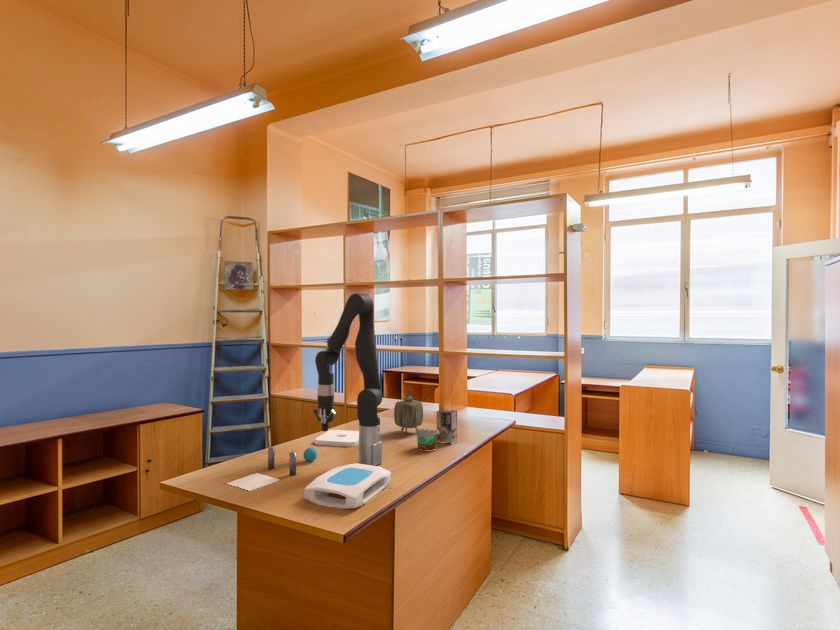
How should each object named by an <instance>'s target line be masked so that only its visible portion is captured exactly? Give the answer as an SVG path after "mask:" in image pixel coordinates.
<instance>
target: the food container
mask: <svg viewBox="0 0 840 630" xmlns="http://www.w3.org/2000/svg"><path fill="white" fill-rule="evenodd" d="M415 434H416V438H417V448H419V449H422V450H433V449H436V448H437V447H438V442H437V441H438V434H440V433H439V429H438V430H437V429H436V430H433V429H428V428H426V429H425V428H422V429H421V428H418V427H417V428H415ZM419 449H418V450H419ZM437 449H438V448H437Z"/></svg>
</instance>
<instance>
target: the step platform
mask: <svg viewBox="0 0 840 630" xmlns="http://www.w3.org/2000/svg"><path fill="white" fill-rule="evenodd" d="M391 482H392V472H391V470H388V469H386V468H383V467H381V466H379V465H377V466H372V465H365V464H359V462H357V463H356V462H355V463H350V464H345V465H344V464H343V465H340V466H336V467H333V468H331V469H329V470H328V471H325V472H324V473H322V474H321V475H319V476H317V477H316V478H314V479H313V480H312V481H311V482H310V483H309V484H308V485H306V487H305V488H304V491H303V492H304V493H303V494H304V496H303V497H304V499H305V500H307V501H308V502H311V503H312V504H314V505H317V506H322V505H323V507H329V508H333V507H335V508H334V509H338V508H341V509H340V510H348V509H356V508H359V507H361V506H364V505H363V504H364V503H365V502H366V501H368V500H369V499H370V498H372V497H373V496H374V495H376V494H377V493H378V492H379V491H381V490H382V489H383V488H385V487H388V485H389V484H390V483H391ZM372 486H373V487H372ZM370 487H371V488H370ZM385 489H386V488H385ZM381 492H382V491H381ZM330 493H331V494H334V495H335V494H337V495H340V496H343V497H345V498H337V497H333V496H329V494H330ZM376 496H377V495H376Z"/></svg>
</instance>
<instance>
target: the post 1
mask: <svg viewBox="0 0 840 630" xmlns="http://www.w3.org/2000/svg"><path fill="white" fill-rule="evenodd" d="M275 448H276V447H275V446H268V447H267V470H268V469H269V470H268V471H272V469H273V470H274V469H275V450H276V449H275Z"/></svg>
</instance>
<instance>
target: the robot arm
mask: <svg viewBox="0 0 840 630" xmlns="http://www.w3.org/2000/svg"><path fill="white" fill-rule="evenodd" d="M374 307H375V306H374V299H373V298H372V296H371V295H370V294H368V293H360V292H359V293H357V292H356V293H352V294H351V295H349V297H348V298H347V300H346V302H345V305H344V307H343V311H342V313H341V315H340V318H339V320H338V323H337V325H336V327H335V329H334V331H333V332H332V333H331V336H330V337H329V339H328V340H327V343H326V345H327V346H326V347H327V348H328V350H320V351H319V352H317V354H316V355H315V358H314V359H315V360H314V362H315V367H316V371H317V374H318V383H317V397H316V400H317V401H316V402H317V403H316V404H317V408H316V409H314V410H313V412H314V415H315V417H316V419H317V420H318V422H321V431H322V432H323V433H325V432H327V431H329V423H332V422H333V420H334V419H335V418H336V417H337V415H338V411H335V410H334V407H333V406H334V403H335V385H334V383H335V382H334V381H335V376H334V375H335V373H334V372H333V371H331V370H329V366H334V365H335V364H337V362H338V360H339V358H340V354H341V351H342V349H343V347H344V345H345V344H346V342H347V341H348V338H349V336H350V330H351V327H352V326H351V325H352V322H354V320H355V318H356V317H357V316H358V319H359V320H358V321H359V328H358V331H357V335H356V338H355V342H354V349H355V358H356V361H357V364H358V367H359V370H360V372H361V374H362V379H363V389H362V390H361V391H359V393H358V395H357V398H356V412H357V420H358V431H359V444H358V464H365V465H372V466H376V465H377V466H379V465H381V464H382V462H383V459H382V457H383V454H382V452H383V451H382V449H383V446H382V445H383V442H382V441H381V418H380V417H379V415H378V407H379V406H380V404H381V403H382V401H383V392H382V388H381V382H380V377H379V366H378V365H379V364H378V351H377V343H376V336H375V333H376V332H375V325H374V324H375V323H374V322H375V320H374V319H375V318H374V315H375V314H374V312H375V311H374V310H375V309H374ZM380 463H381V464H380ZM378 464H379V465H378Z"/></svg>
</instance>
